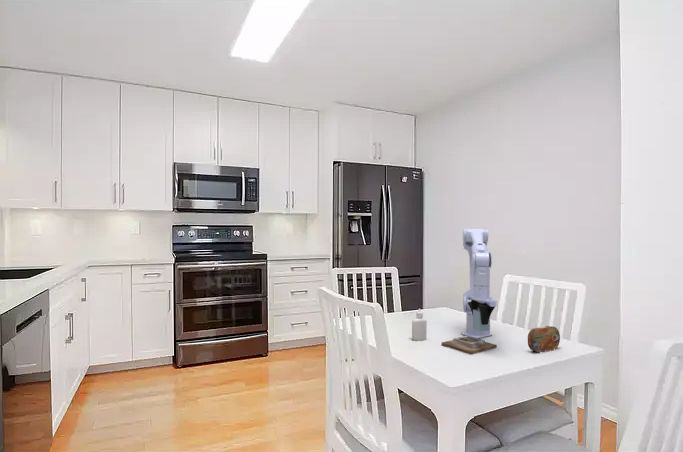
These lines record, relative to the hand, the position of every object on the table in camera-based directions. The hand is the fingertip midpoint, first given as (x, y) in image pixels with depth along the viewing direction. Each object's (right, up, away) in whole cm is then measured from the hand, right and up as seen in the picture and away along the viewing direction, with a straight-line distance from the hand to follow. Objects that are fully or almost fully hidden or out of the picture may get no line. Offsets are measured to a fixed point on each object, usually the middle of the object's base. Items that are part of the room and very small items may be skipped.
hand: (480, 322), depth 145 cm
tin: (+22, -10, -1) cm, 24 cm away
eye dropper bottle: (-20, -9, +11) cm, 25 cm away
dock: (-3, -9, +3) cm, 10 cm away
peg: (0, -2, 0) cm, 2 cm away
